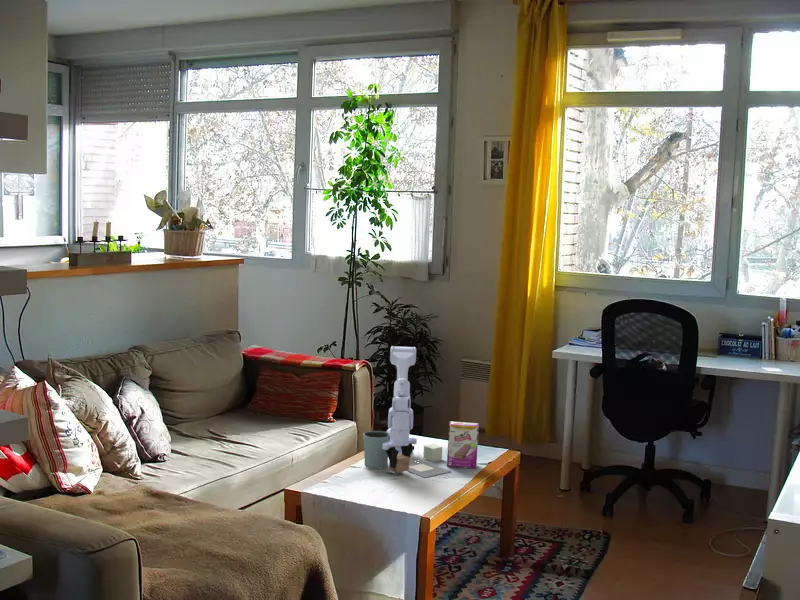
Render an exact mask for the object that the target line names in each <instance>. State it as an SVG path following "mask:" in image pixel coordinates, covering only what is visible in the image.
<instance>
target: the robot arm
mask: <svg viewBox="0 0 800 600" xmlns="http://www.w3.org/2000/svg"><path fill="white" fill-rule="evenodd" d="M389 352H390V353H389V354H390V355H389V361H390V363H391V365H393V366H395V367H396V380H395V381H394V385H393V398H392V401H391V402H392V403H391V407H390V408H389V409H388V417H387V428H388V429H387V430H386V432H388V433H389V434H390V441H389V442H386V443H383V447H382V449H384V450H385V451H386V453H387V455H388V462H389V461H390V466H391V467H392V468H396V460H397V455H398V454H402V455H405V456H408V457H409V459H410V457H411V455H412V454H413V453H414V450H415V446H414V445H417V441H418V440H417V438H415V437H410V431H411V430H412V429H413V427H414V410H413V409H412V408H411V403H412V402H411V401H412V400H411V393H410V392H411V387H410V386H411V383H410V381H409V380H408V379H409V377H408V376H409V375H408V374H409V373H408V372H409V368H410V367H411V366H415V364H416V361H417V348H416V347H415V346H394V345H391V347H390V351H389Z"/></svg>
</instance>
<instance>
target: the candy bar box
mask: <svg viewBox="0 0 800 600" xmlns="http://www.w3.org/2000/svg"><path fill="white" fill-rule="evenodd" d="M479 425H480V424H479V423H477V422H464V421H462V422H461V421H451V420H450V421H449V424H448V438H447V439H448V442H447V454H446V456H447V457H446V467H449V466H455V467H454V468H462V467H467V468H466V469H477V463H478V461H477V460H478V449H479V448H478V447H479V446H478V445H479V444H478V443H479V429H480V428H479V427H480V426H479Z"/></svg>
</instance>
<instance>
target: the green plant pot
mask: <svg viewBox="0 0 800 600" xmlns="http://www.w3.org/2000/svg"><path fill="white" fill-rule="evenodd" d="M362 439H363V440H362V441H363V451H364V453H363V455H364V457H363V458H364V466H366V468H367V467H368V468H367V469H371V468H373V469H372V470H379V469H378V468H383V469H386V468H387V467H389V458H388V455H387V453H386V451H385V450H384V449H382V447H383V443H386V442H389V441H390V434H389V433H388V432H387V431H385V430H384V431H382V430H369V431H365V432H363V434H362ZM385 467H386V468H385ZM374 468H375V469H374Z"/></svg>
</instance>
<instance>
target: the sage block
mask: <svg viewBox="0 0 800 600" xmlns="http://www.w3.org/2000/svg"><path fill="white" fill-rule="evenodd" d="M424 458H426V459H425V460H427V459H428V460H427V461H429V460H430V461H429V462H432V461H433V462H437V461H441V460H440V459H442V460H443V446H441V445H438V444H435V443H432V444H428V445H424V446H423V459H424ZM436 460H437V461H436Z"/></svg>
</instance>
